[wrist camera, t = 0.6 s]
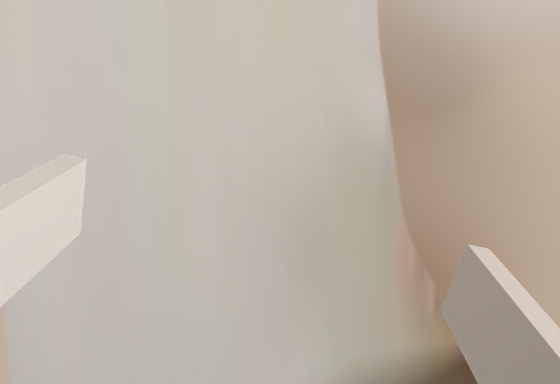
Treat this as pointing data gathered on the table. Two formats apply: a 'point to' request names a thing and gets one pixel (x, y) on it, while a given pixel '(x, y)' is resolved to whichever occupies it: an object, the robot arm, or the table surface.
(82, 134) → the table surface
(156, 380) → the table surface
